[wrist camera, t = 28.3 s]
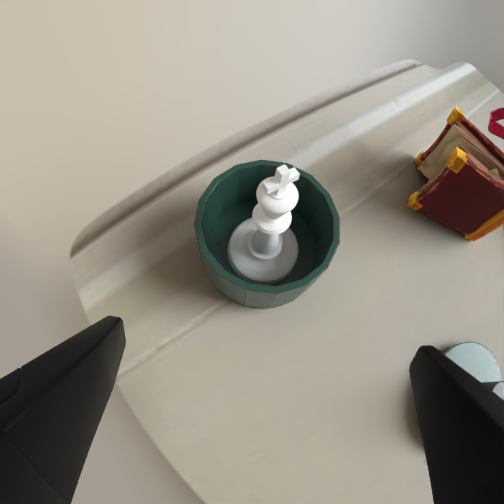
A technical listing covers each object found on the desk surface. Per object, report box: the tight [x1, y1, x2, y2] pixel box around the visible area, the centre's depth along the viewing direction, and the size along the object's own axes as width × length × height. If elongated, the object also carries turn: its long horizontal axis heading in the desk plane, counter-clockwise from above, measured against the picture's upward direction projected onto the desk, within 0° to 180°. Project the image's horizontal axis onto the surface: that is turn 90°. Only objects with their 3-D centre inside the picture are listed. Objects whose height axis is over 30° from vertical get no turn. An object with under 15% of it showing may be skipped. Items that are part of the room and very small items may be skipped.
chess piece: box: [228, 165, 300, 285], centre depth 18 cm, size 5×5×10 cm
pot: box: [194, 160, 340, 308], centre depth 21 cm, size 8×8×5 cm
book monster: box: [407, 107, 504, 241], centre depth 22 cm, size 11×9×12 cm
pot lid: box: [443, 342, 504, 400], centre depth 17 cm, size 9×9×5 cm
